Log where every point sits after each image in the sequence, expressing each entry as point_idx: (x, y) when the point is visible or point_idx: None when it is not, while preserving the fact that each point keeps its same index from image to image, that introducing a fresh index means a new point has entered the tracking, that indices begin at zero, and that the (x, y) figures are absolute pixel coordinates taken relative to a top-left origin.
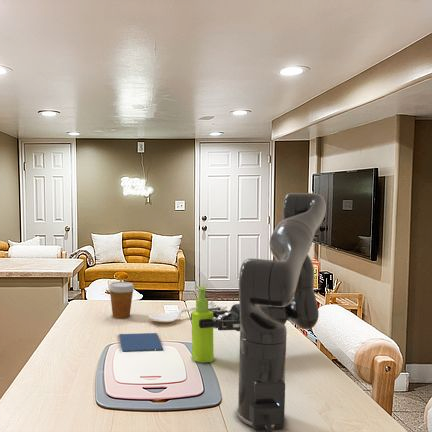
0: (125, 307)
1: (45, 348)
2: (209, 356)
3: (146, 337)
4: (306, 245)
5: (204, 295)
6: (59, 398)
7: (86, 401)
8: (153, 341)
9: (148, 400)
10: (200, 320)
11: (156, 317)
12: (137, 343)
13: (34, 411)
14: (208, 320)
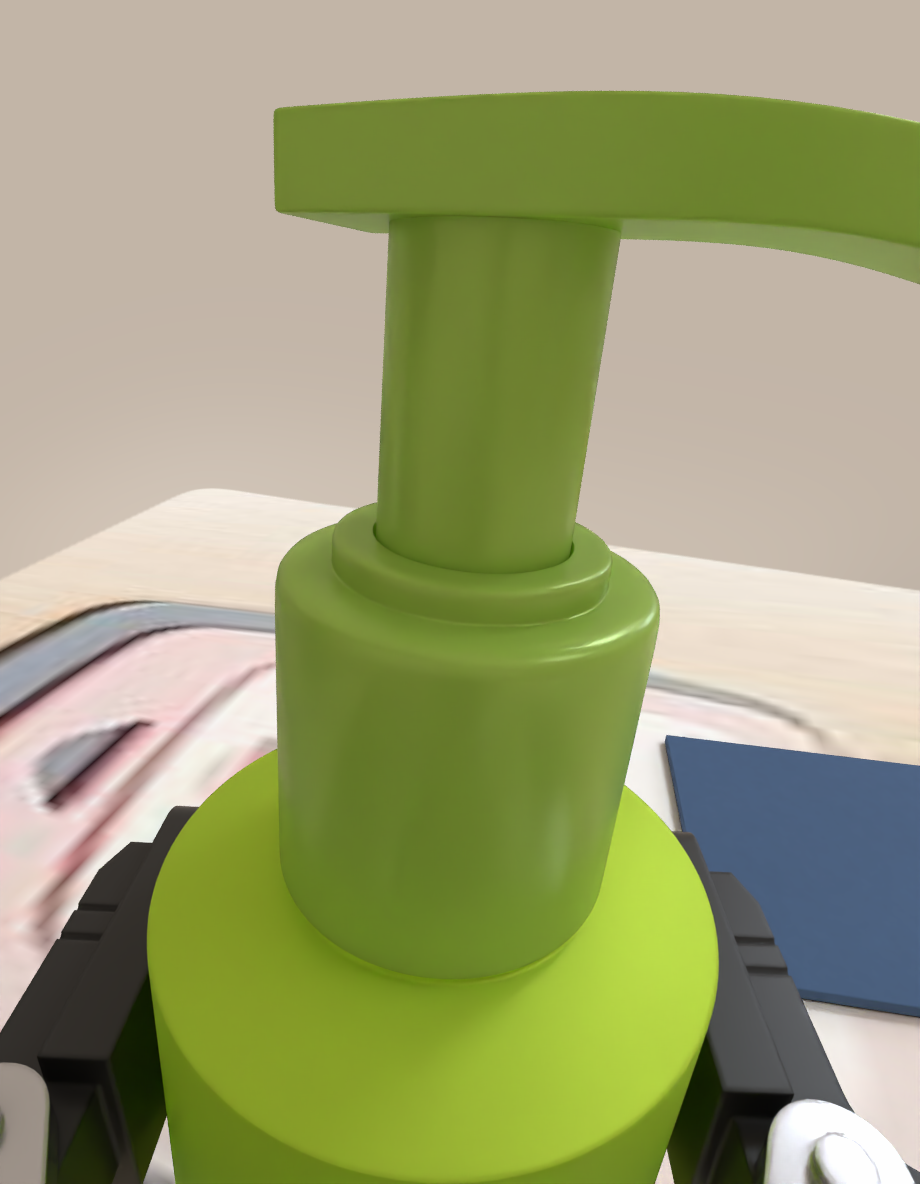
0: None
1: (695, 563)
2: None
3: None
4: None
5: (397, 423)
6: (248, 554)
7: (178, 586)
8: (913, 950)
9: (4, 711)
10: (184, 807)
11: None
12: (821, 828)
13: (209, 524)
14: (104, 959)
